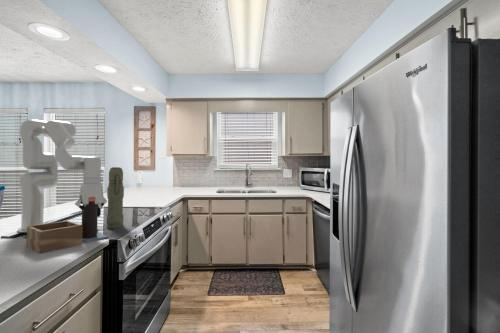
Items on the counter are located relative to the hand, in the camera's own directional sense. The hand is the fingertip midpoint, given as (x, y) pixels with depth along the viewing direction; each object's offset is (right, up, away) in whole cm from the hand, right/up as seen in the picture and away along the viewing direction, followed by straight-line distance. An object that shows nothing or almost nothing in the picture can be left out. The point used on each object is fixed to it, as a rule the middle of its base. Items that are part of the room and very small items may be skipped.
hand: (91, 217), depth 139 cm
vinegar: (-1, -10, -1) cm, 10 cm away
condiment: (-9, -10, +16) cm, 21 cm away
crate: (-9, -10, -13) cm, 19 cm away
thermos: (0, -10, +25) cm, 27 cm away
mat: (0, -11, 0) cm, 11 cm away
